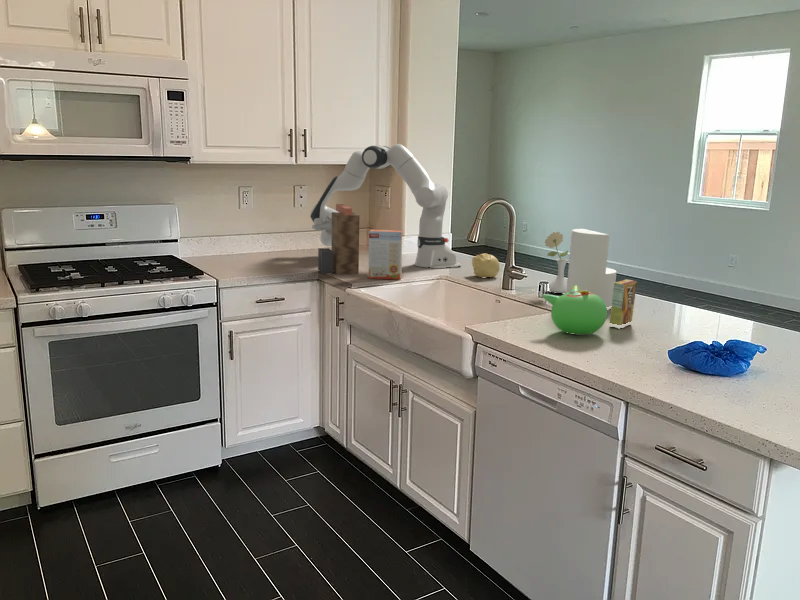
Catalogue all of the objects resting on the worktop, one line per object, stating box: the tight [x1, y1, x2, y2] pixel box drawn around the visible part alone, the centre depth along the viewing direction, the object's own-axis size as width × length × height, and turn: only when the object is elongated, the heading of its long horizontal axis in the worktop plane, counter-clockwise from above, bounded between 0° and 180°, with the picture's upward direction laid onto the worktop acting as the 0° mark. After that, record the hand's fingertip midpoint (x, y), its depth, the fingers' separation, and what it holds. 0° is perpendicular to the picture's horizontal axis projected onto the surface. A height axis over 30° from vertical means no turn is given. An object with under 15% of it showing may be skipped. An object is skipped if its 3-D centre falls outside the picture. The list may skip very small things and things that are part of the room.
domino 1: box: [317, 247, 331, 270], centre depth 305 cm, size 5×2×10 cm, turn 107°
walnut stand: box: [330, 211, 360, 275], centre depth 303 cm, size 10×12×26 cm
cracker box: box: [368, 229, 403, 281], centre depth 290 cm, size 14×6×21 cm, turn 84°
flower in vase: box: [544, 231, 569, 293], centre depth 271 cm, size 13×11×25 cm
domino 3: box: [320, 251, 334, 275], centre depth 298 cm, size 5×2×10 cm, turn 107°
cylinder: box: [566, 228, 617, 307], centre depth 251 cm, size 17×17×28 cm
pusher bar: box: [335, 203, 353, 215], centre depth 303 cm, size 3×20×3 cm, turn 16°
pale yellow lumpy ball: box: [471, 252, 500, 278], centre depth 302 cm, size 11×12×11 cm
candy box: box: [609, 278, 638, 325], centre depth 224 cm, size 9×4×15 cm, turn 137°
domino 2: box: [318, 249, 331, 273], centre depth 301 cm, size 5×2×10 cm, turn 107°
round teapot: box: [541, 285, 608, 335], centre depth 213 cm, size 18×17×15 cm
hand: (337, 217), depth 317 cm, fingers open, 8 cm apart
